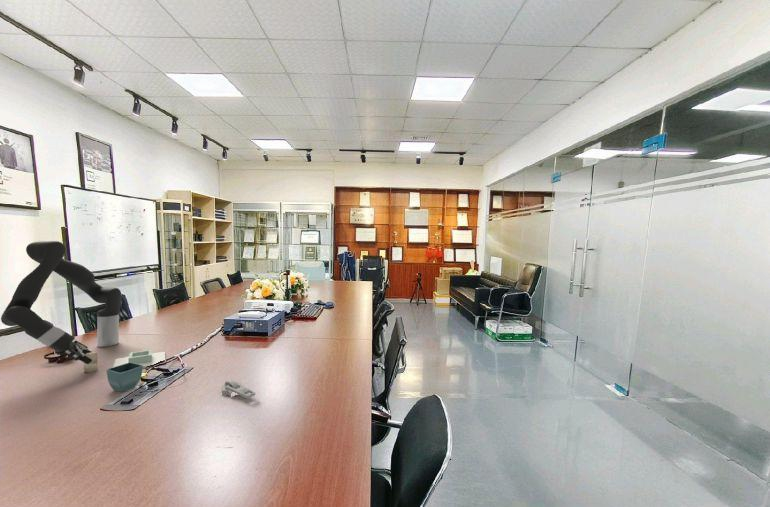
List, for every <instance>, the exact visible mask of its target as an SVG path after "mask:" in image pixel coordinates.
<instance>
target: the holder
mask: <svg viewBox="0 0 770 507" xmlns="http://www.w3.org/2000/svg"><path fill="white" fill-rule="evenodd" d="M152 351H153V349H147V350H140V351H133V352H132V351H131V352H129V354H128V356H125V357H120V358H115V361H114V364H113V366H112V368H113V367H116V366H120V365H123V364H126V363H129V362H132V363H136V364H140V365H143V369H146V367H147V366H150V365H154V364H156V363H158V362H160V361H163V360H165V361H166V352H165V351H159V352H154V353H153V352H152ZM147 368H148V367H147Z"/></svg>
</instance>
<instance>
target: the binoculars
mask: <svg viewBox="0 0 770 507" xmlns="http://www.w3.org/2000/svg"><path fill="white" fill-rule="evenodd" d="M64 352H65V350H64V349H62V350H61V351H59V352H57V351H55V350H52V352H50V353H47V354H44V355H43V359H45V360H48V363H55V362H56V364H60V363H63V362H65V361H67V360H73V359H72V358H70V357H69V356H67V355H65V354H64ZM55 355H57V356H55Z"/></svg>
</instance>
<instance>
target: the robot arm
mask: <svg viewBox="0 0 770 507" xmlns="http://www.w3.org/2000/svg"><path fill="white" fill-rule="evenodd" d="M66 251H67V249H66V246H65V245H64V243H63V242H60V241H58V240H41V241H40V240H39V241H33V242H31V243H30V242H29V244H28V245H27V246H26V247H25V252H26V254H27V256H28V257H29V258H30V259H31V260H33V261H35V262H36V263H38V266H37V267H36V268H35V269H33V270H32V271H30V273H28V274H27V275H26V276H25V277H24V278H23V279H22V280H21V281H20V282H19V284H18V285H17V287H16V288H15V290H14V293H13V294H12V297H11V300H10V302H9V303H8V304H7V306H6V307H5V309H4V311H3V313H2V314H1V317H0V320H1V321H0V322H1V323H2V324H3V325H5V326H8V327H15V326H18V327H20V329H23V330H24V333H25V334H26V335H28V336H29V337H30V338H33V339H35V340H37V341H38V342H39V343H41V344H42V345H45V346H46V347H47V348H50V349H51V350H52V351H54V352H55V351H57V352H59V351H61V350H62V349H64V350H65V352H64V354H65V355H67V357H68V356H69V357H70V358H72V359H71V360H74V361H81V362H83V364H84V363H86V364H89V363H90V362H91V361H92V359H90V358H89V357H87V356H85V354H87V353H91V352H92V351H91V350H89V347H88V345H87V346H86V345H85V344H83V343H82V342H80V341H78V340H75V339H76V337H75V336H74V335H71V334H70V333H68V332H66V331H65V330H63V329H61V328H60V327H57V326H54V325H53V324H51V323H49V322H48V321H46V320H45V319H43V318H42V317H41V316H39V315H38V314H37V313H36V312H35V311H34V310H32V309H31V308H32V307H33V305H34V304H35V302H36V301H37V299H38V297H39V295H40V293H41V291H42V289H43V288H44V285H45V284H46V282H47V280H48V279H49V277H50V276H51V274H52V273H53V272H54V273H55V274H57V275H58V276H61V277H62V278H63V279H65V280H66V281H67V282H69V283H70V284H72V285H73V286H75V287H77V289H79V290H81V291H83V292H84V293H85V294H86V295H88V296H89V298H91V299H92V300H93V301H94V302H95V303H98V304H103V305H104V304H105V308H103V309H99V310H98V311H97V314H96V315H97V318H96V320H97V324H96V326H97V327H96V328H97V334H96V337H97V339H96V340H97V341H96V342H97V343H96V345H97V347H100V348H105V347H111V346H116V345H118V344H119V343H120V342H119V341H120V310H121V306H122V292H121V289H120V288H117V287H105V286H101V285H100V284H99V283H97V282H96V278H95V274H94V273H93V272H92V271H90V270H89V269H88V268H87V267H85V266H84V265H83V264H79V263H78V262H74V261H71V260H68V259H65V258H64V256H65V254H66Z"/></svg>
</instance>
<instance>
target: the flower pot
mask: <svg viewBox="0 0 770 507" xmlns="http://www.w3.org/2000/svg"><path fill="white" fill-rule="evenodd" d="M143 370H144V368H143V365H140V364H136V363H132V362H129V363H126V364H123V365H120V366H116V367H113V366H112V367H111V368H107V369H106V376H107V382H108V384H109V385H110V387H111V388H112V389H113V390H114V391H117V392H121V393H123V392H126V391H128V390H130V389H133V388H135V387H136V386H137V385H138V383H139V382H140V380H141V378H142V374H143Z"/></svg>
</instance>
